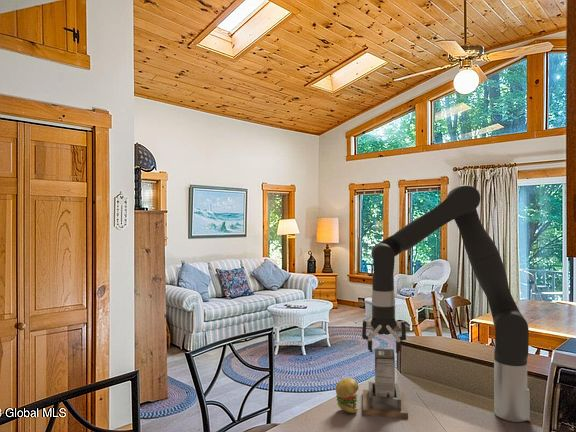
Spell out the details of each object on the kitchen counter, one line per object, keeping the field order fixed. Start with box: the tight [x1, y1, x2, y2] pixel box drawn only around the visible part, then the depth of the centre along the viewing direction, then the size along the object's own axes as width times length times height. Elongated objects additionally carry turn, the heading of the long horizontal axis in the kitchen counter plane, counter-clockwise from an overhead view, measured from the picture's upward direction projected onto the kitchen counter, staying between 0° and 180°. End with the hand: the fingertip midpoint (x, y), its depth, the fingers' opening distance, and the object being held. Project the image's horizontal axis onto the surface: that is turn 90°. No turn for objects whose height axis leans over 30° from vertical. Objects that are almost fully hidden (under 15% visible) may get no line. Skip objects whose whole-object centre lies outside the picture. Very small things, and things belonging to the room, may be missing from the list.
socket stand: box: [362, 381, 409, 419], centre depth 143 cm, size 14×16×5 cm
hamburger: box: [335, 375, 359, 414], centre depth 138 cm, size 8×7×12 cm
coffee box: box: [374, 348, 396, 398], centre depth 143 cm, size 9×6×16 cm
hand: (384, 351), depth 143 cm, fingers open, 8 cm apart
